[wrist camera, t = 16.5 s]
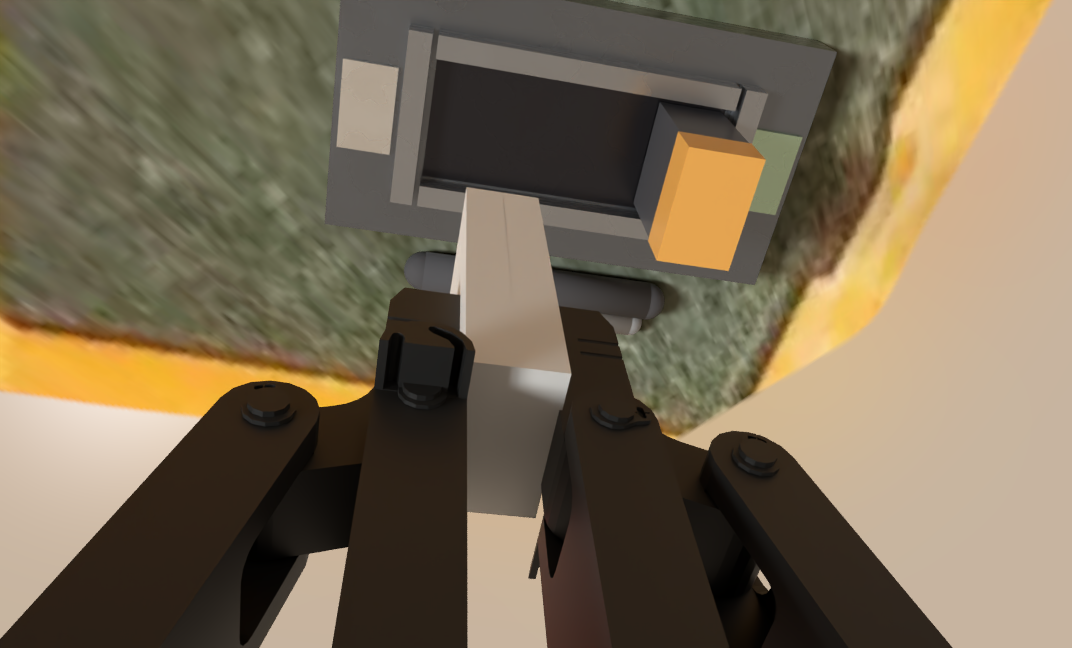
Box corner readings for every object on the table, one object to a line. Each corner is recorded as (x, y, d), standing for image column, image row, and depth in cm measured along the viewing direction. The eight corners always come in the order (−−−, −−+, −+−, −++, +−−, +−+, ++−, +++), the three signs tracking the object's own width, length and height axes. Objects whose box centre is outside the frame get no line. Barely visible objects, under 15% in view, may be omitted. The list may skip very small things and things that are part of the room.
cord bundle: (400, 297, 46) (398, 315, 44) (407, 242, 44) (405, 259, 42) (649, 330, 48) (656, 348, 46) (664, 278, 46) (671, 296, 45)
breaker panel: (331, 204, 43) (321, 234, 40) (350, -49, 37) (339, -38, 34) (741, 264, 46) (761, 295, 43) (818, 40, 40) (847, 58, 37)
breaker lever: (631, 202, 41) (656, 260, 36) (657, 101, 39) (689, 147, 33) (694, 212, 42) (728, 271, 36) (723, 112, 39) (765, 159, 34)
